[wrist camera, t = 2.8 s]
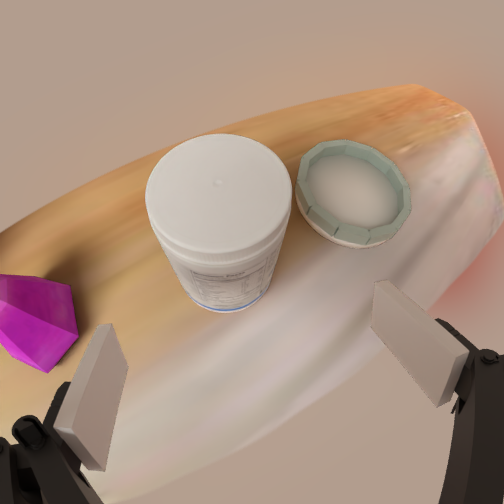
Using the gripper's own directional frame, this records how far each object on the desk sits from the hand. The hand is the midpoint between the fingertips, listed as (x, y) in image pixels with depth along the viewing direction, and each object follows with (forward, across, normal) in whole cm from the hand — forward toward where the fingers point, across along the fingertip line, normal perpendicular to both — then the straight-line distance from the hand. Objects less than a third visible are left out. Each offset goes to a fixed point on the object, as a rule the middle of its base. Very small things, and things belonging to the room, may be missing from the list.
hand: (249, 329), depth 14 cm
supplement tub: (+17, 0, -4) cm, 18 cm away
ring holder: (+22, +16, +1) cm, 27 cm away
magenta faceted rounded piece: (+15, -22, -7) cm, 27 cm away
